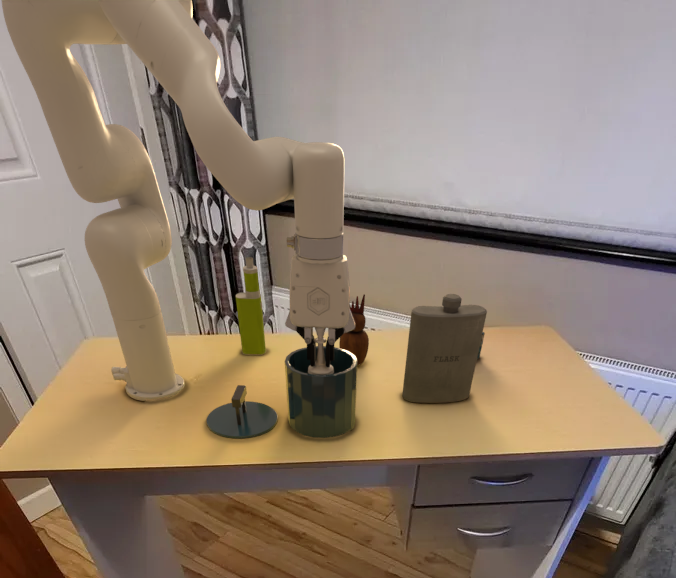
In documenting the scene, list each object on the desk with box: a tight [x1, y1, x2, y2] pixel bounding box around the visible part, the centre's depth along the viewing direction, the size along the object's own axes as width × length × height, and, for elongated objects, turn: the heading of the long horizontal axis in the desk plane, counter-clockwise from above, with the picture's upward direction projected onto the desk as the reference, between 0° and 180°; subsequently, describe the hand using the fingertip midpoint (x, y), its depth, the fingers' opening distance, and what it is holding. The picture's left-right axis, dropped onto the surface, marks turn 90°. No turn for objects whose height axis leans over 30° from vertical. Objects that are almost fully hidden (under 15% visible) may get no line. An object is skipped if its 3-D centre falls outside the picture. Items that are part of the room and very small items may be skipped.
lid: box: [206, 384, 279, 440], centre depth 101 cm, size 14×14×6 cm
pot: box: [284, 345, 358, 439], centre depth 99 cm, size 13×13×12 cm
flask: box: [401, 293, 488, 404], centre depth 104 cm, size 15×6×20 cm, turn 96°
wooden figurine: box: [338, 293, 370, 366], centre depth 117 cm, size 7×6×15 cm
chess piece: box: [308, 328, 334, 375], centre depth 92 cm, size 5×5×10 cm
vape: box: [235, 256, 267, 356], centre depth 119 cm, size 4×6×20 cm, turn 88°
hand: (320, 363), depth 95 cm, fingers closed on chess piece
